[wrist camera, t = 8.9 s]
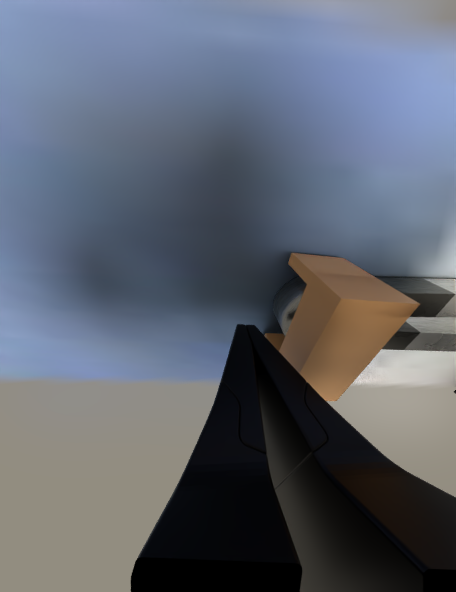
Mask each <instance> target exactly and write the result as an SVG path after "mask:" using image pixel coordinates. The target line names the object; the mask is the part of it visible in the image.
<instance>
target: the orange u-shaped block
mask: <svg viewBox="0 0 456 592" xmlns="http://www.w3.org/2000/svg"><path fill="white" fill-rule="evenodd" d="M288 264H289V265H290V266H291V267H292V268H293V269H294V271H295V272H296V273H297V274H298V275H299V276H300V277H301V278H302V279H303V280H304V282H305V283H306V284H307V286H306V288H305V290H304V293H303V295H302V298H301V300H300V302H299V305H298V307H297V310H296V312H295V315H294V317H293V319H292V322H291V324H290V327H289V329H288V331H287V334H286V336H284V334H276V333H265V337H266V338H267V339H268V340H269V341H270V342H271V343H272V345H273V346H274V347H275V348H276V349H277V350H278V351H279V352H280V353H281V354H282V355H283V356H284V357H285V358H286V360H287V361H288V362H289V363H290V364H291V365H292V366H293V367H294V368H295V369H296V370H297V371H298V372H299V373H300V375H301V376H302V377H303V378H304V379H305V380H306V382H308V383H309V384H310V385H311V386H312V387H313V388H314V389H315V390H316V392H317V393H318V394H319V395H320V396H321V397H322V398H323V399H324V400H325V401H337V400H338V399H339V397H340V396H341V395H342V394H343V393H344V392H345V391H346V389H347V388H348V387H349V386H350V385H351V384H352V383H353V381H354V380H355V379H356V378H357V377H358V376H359V374H360V373H361V372H362V371H363V370H364V369H365V367H366V366H367V365H368V364H369V363H370V362H371V361H372V359H373V358H374V357H375V356H376V355H377V354H378V352H379V351H380V350H381V349H382V348H383V347H384V346H385V344H386V343H387V342H388V341H389V340H390V339H391V337H392V336H393V335H394V334H395V333H396V332H397V331H398V329H399V328H400V327H401V326H402V325H403V324H404V322H405V321H406V320H407V319H408V318H409V317H410V316H411V314H412V313H413V312H414V311H415V310H416V309H417V307H418V306H419V305H420V304H419V303H418V302H416V301H414V300H413V299H411V298H409V297H408V296H406V295H404V294H403V293H401V292H399V291H398V290H396V289H394V288H393V287H391V286H389V285H388V284H386V283H384V282H383V281H381V280H379V279H378V278H376V277H374V276H373V275H371V274H369V273H368V272H366V271H364V270H363V269H361V268H359V267H358V266H356V265H354V264H353V263H351V262H349V261H348V260H346V259H344V258H338V257H328V256H318V255H308V254H299V253H291V256H290V259H289V262H288Z"/></svg>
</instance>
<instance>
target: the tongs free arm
mask: <svg viewBox="0 0 456 592" xmlns="http://www.w3.org/2000/svg"><path fill="white" fill-rule="evenodd" d="M376 278H378V279H379V280H381V281H383V282H384V283H386V284H388V285H389V286H391V287H393V288H394V289H396V290H398V291H399V292H401V293H403V294H404V295H406V296H408V297H409V298H411V299H413V300H414V301H416V302H418V303H419V304H420V305H419V306H418V307H417V309H416V310H415V311H414V312H413V313H412V314H411V316H410V317H456V279H428V278H391V277H376Z"/></svg>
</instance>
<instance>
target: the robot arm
mask: <svg viewBox="0 0 456 592" xmlns="http://www.w3.org/2000/svg"><path fill="white" fill-rule="evenodd" d="M454 393H456V390H455V391H454ZM131 592H456V497H454V496H452V495H450V494H448V493H446V492H444V491H442V490H441V489H439V488H437V487H435V486H433V485H431V484H429V483H427V482H426V481H424V480H422V479H420V478H418V477H416V476H414V475H412V474H411V473H409V472H407V471H405V470H404V469H402V468H401V467H399V466H398V465H396V464H395V463H393V462H392V461H391V460H389V459H388V458H387V457H386V456H384V455H383V454H382V453H381V452H380V451H379V450H378V449H376V448H375V447H374V446H373V445H372V444H371V443H370V442H369V441H368V440H367V439H366V438H365V437H363V436H362V435H361V434H360V433H359V432H358V431H357V430H356V429H355V428H354V427H353V426H351V424H349V423H348V422H347V421H346V420H345V419H344V418H343V417H342V416H341V415H340V414H339V413H338V412H337V411H336V410H334V409H333V408H332V407H331V406H330V405H329V404H328V403H327V402H326V401H325V400H324V399H323V398H322V397H321V396H320V395H319V394H318V393H317V392H316V390H315V389H314V388H313V387H312V386H311V385H310V384H309V383H308V382H306V380H305V379H304V378H303V377H302V376H301V375H300V373H299V372H298V371H297V370H296V369H295V368H294V367H293V366H292V365H291V364H290V363H289V362H288V361H287V360H286V358H285V357H284V356H283V355H282V354H281V353H280V352H279V351H278V350H277V349H276V348H275V347H274V346H273V345H272V343H271V342H270V341H269V340H268V339H267V338H266V337H265V336H264V335H263V334H262V333H261V332H260V331H259V329H258V328H257V327H256V326H255V325H244V324H238V325H237V326H236V330H235V333H234V337H233V340H232V344H231V347H230V351H229V354H228V358H227V361H226V365H225V368H224V372H223V375H222V378H221V382H220V385H219V388H218V392H217V395H216V398H215V401H214V404H213V406H212V409H211V411H210V414H209V416H208V419H207V421H206V424H205V426H204V428H203V430H202V432H201V435H200V437H199V439H198V441H197V444H196V446H195V448H194V450H193V453H192V455H191V457H190V459H189V462H188V464H187V466H186V468H185V470H184V472H183V474H182V477H181V479H180V481H179V483H178V484H177V487H176V488H175V490H174V492H173V494H172V496H171V498H170V500H169V501H168V503H167V505H166V507H165V509H164V511H163V512H162V514H161V516H160V518H159V520H158V522H157V523H156V525H155V527H154V529H153V531H152V533H151V534H150V536H149V538H148V540H147V542H146V543H145V545H144V547H143V549H142V551H141V553H140V554H139V556H138V558H137V560H136V562H135V565H134V569H133V572H132V576H131Z"/></svg>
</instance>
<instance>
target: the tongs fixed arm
mask: <svg viewBox="0 0 456 592" xmlns="http://www.w3.org/2000/svg"><path fill="white" fill-rule="evenodd" d="M306 286H307V284H306V283H305V282H304V280H303V279H302V278H301V277H300V276H299V277H296V278H294V279H292V280H290V281H289V282H287V283H286V284H285V285H284V286H283V287H282V288H281V289H280V290H279V291H278V293H277V294H276V296H275V298H274V301H273V312H274V314H275V316H276V318H277V321H278V323H279V325H280V327H281V329H282V331H283V334H284V336H286V334H287V331H288V329H289V327H290V324H291V322H292V319H293V317H294V315H295V312H296V310H297V307H298V305H299V302H300V300H301V298H302V295H303V293H304V290H305V288H306ZM382 349H390V350H425V351H456V317H409V318H408V319H407V320H406V321H405V322H404V324H403V325H402V326H401V327H400V328H399V329H398V331H397V332H396V333H395V334H394V335H393V336H392V337H391V339H390V340H389V341H388V342H387V343H386V344H385V346H384V347H383V348H382Z"/></svg>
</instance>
